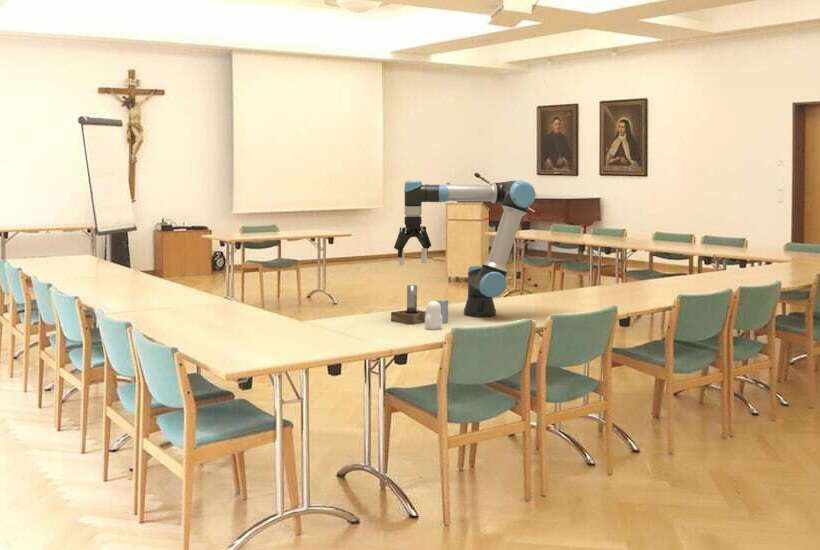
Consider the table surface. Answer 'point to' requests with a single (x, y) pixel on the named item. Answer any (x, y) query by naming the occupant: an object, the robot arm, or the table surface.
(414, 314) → the socket block
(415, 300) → the round bit
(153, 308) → the table surface
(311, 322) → the table surface
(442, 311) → the square bar
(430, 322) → the figurine
